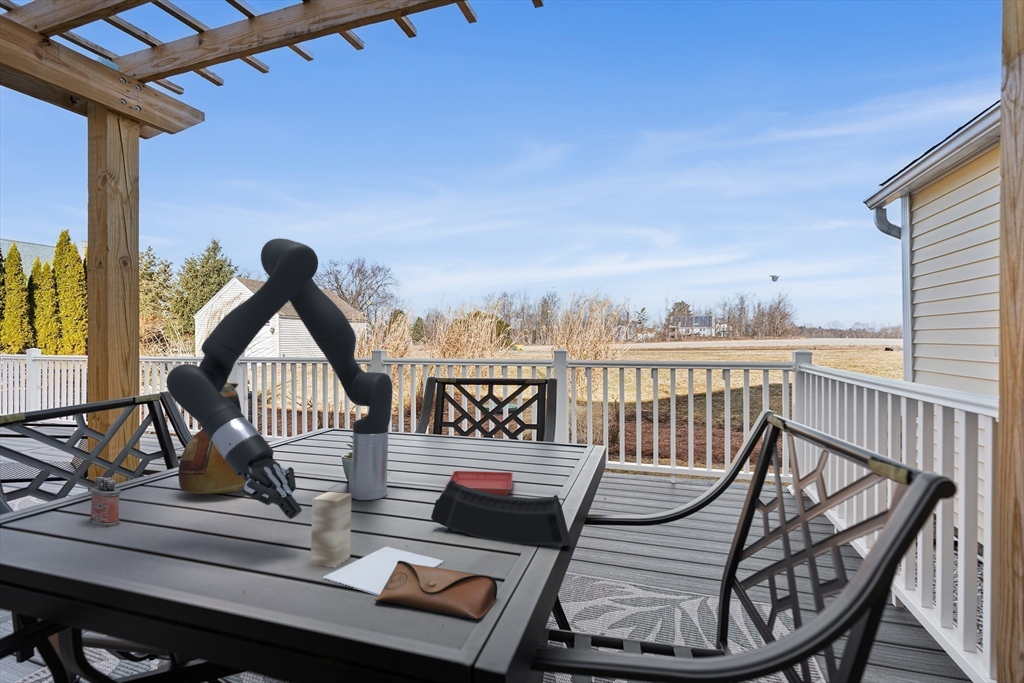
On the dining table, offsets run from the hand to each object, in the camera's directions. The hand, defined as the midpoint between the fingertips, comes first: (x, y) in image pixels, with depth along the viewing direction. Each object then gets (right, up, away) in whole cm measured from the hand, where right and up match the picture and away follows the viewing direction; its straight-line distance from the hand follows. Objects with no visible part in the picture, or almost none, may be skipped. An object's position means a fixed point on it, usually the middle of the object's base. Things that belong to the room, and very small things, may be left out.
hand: (296, 515), depth 97 cm
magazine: (+38, -9, +12) cm, 41 cm away
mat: (+18, -8, -5) cm, 21 cm away
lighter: (-49, -7, +16) cm, 52 cm away
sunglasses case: (+29, -8, -16) cm, 34 cm away
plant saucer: (+32, -10, +51) cm, 61 cm away
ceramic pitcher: (-38, -8, +42) cm, 57 cm away
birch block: (+7, -8, -2) cm, 11 cm away
